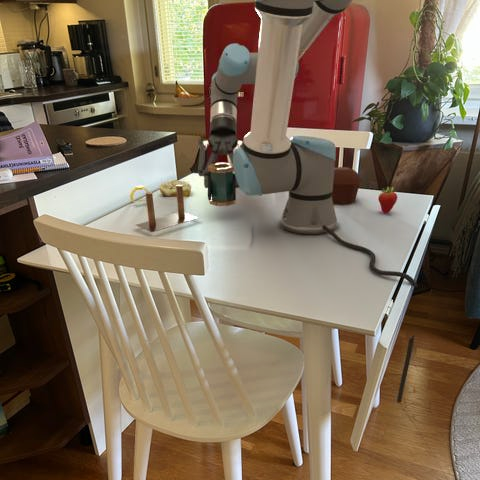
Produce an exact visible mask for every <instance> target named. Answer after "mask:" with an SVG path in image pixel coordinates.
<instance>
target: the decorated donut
mask: <svg viewBox="0 0 480 480" xmlns="http://www.w3.org/2000/svg"><path fill="white" fill-rule="evenodd" d="M176 185H182V186H183V198H185V197H187V196H189V195H190V194H191V192H192V185H191V184H190V183H189V182H187V181H183V180H170V181H165V182H162V183H161V184H160V185H159V192H160V194H161V195H162V196H164V197H166V198H177V193H176Z"/></svg>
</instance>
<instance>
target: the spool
mask: <svg viewBox="0 0 480 480" xmlns="http://www.w3.org/2000/svg"><path fill="white" fill-rule="evenodd" d="M208 171H210V172H211V200H209V205H212V206H215V207H229V206H233V205H235V204H236V202H237V199H236V200H233V171H234V166H233V164H231V163H228V162H215V163H214V164H210V165H209V166H208Z"/></svg>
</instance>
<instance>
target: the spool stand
mask: <svg viewBox="0 0 480 480" xmlns="http://www.w3.org/2000/svg"><path fill="white" fill-rule="evenodd" d="M176 193H177V197H176V204H177V212H176V213H172V214H169V215H165V216H162V217H158V218H156V215H155V205H154V195H153V192H152V191H148V192H145V201H146V202H145V203H146V209H147V218H148V221H144V222H141V223H137V224H135V226H137V227H139V228H140V229H141V228H142V229H143V230H146V231H147V232H150V233H154V232H157V231H160V230H164V229H167V228H170V227H173V226H178V225H180V224H183V223H186V222H191V221H193V220H197V219H199V216H198V217H197V216H195V215H191V214H189V213H186V212H185V201H184V197H183V186H182V185H176Z"/></svg>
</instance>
